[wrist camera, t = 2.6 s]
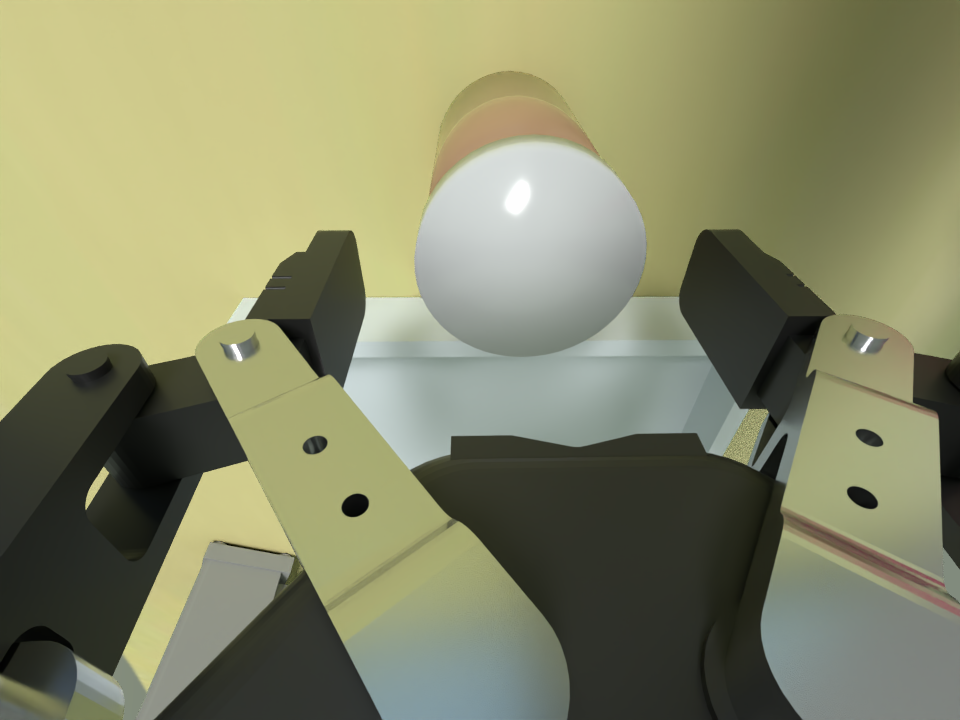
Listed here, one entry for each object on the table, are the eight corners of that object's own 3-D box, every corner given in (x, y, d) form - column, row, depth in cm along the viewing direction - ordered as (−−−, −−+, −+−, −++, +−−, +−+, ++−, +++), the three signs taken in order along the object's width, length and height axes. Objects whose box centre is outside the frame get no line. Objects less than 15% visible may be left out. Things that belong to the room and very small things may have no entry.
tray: (243, 297, 20) (214, 342, 18) (753, 296, 20) (788, 339, 18) (323, 503, 31) (311, 547, 28) (657, 499, 31) (672, 542, 29)
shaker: (430, 67, 15) (403, 150, 9) (591, 67, 15) (675, 151, 9) (438, 220, 18) (423, 357, 12) (569, 219, 18) (620, 356, 12)
